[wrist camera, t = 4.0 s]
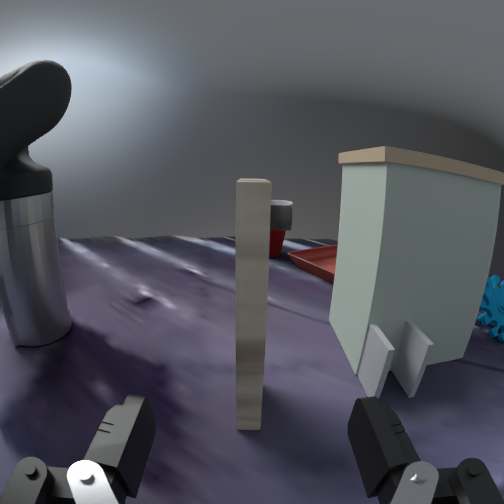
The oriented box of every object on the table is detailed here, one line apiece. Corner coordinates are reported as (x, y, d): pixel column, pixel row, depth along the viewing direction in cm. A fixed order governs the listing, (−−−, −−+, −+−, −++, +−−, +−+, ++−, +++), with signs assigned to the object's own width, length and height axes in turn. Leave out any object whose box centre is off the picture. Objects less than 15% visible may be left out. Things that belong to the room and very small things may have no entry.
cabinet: (484, 378, 22) (533, 177, 16) (365, 405, 22) (410, 143, 16) (420, 313, 38) (441, 168, 33) (325, 318, 38) (338, 153, 33)
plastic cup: (235, 250, 70) (236, 199, 67) (275, 246, 75) (277, 198, 71) (255, 263, 61) (256, 204, 58) (299, 258, 65) (302, 203, 62)
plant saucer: (349, 298, 45) (351, 279, 44) (284, 267, 60) (285, 251, 59) (407, 278, 54) (410, 263, 53) (346, 256, 69) (347, 242, 68)
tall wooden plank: (275, 429, 20) (294, 183, 15) (237, 429, 20) (236, 181, 15) (271, 382, 26) (282, 179, 21) (239, 382, 26) (240, 178, 21)
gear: (485, 337, 27) (477, 267, 32) (459, 349, 32) (455, 285, 37) (528, 340, 26) (520, 278, 31) (503, 350, 31) (498, 293, 36)
